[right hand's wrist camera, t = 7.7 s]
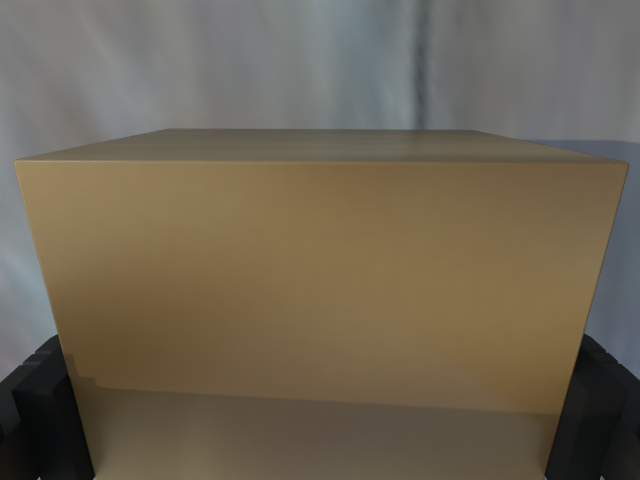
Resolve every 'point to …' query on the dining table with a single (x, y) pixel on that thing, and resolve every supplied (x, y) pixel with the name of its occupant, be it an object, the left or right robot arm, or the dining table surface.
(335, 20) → the dining table surface
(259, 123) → the dining table surface
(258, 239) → the wooden beam
